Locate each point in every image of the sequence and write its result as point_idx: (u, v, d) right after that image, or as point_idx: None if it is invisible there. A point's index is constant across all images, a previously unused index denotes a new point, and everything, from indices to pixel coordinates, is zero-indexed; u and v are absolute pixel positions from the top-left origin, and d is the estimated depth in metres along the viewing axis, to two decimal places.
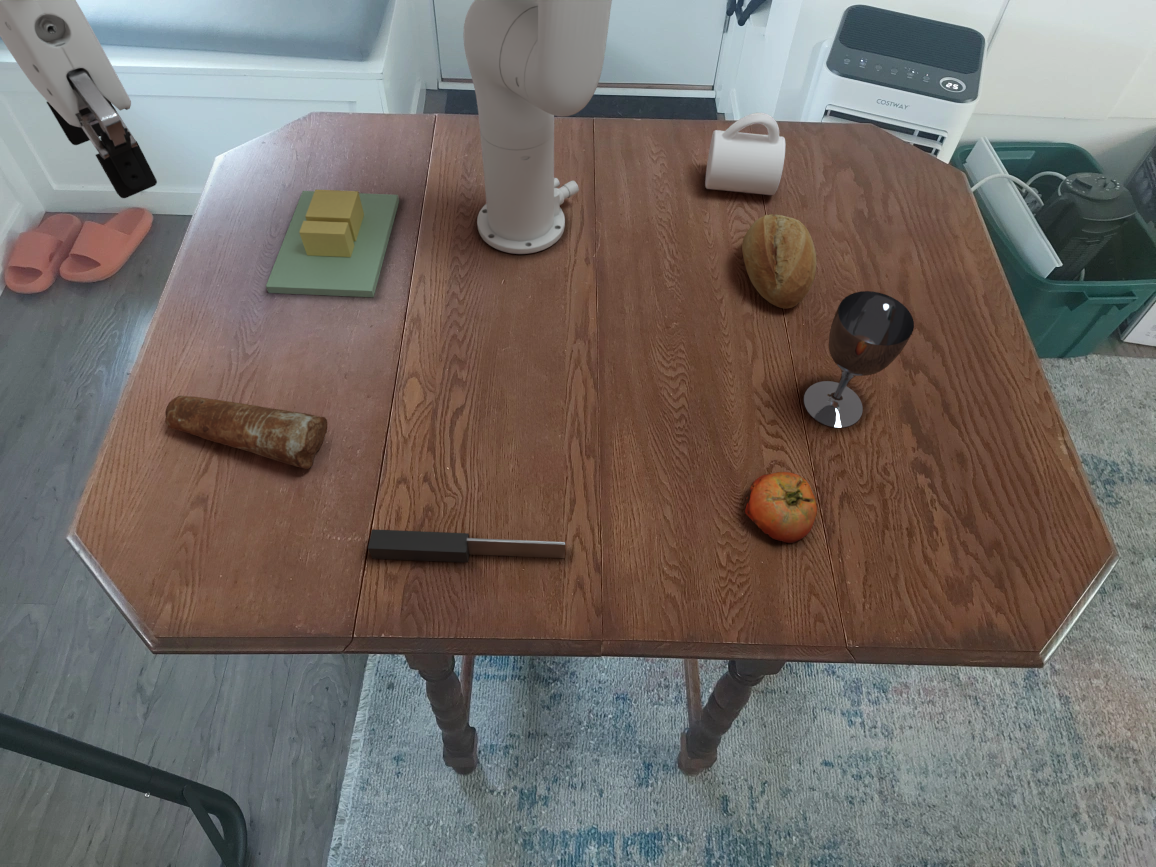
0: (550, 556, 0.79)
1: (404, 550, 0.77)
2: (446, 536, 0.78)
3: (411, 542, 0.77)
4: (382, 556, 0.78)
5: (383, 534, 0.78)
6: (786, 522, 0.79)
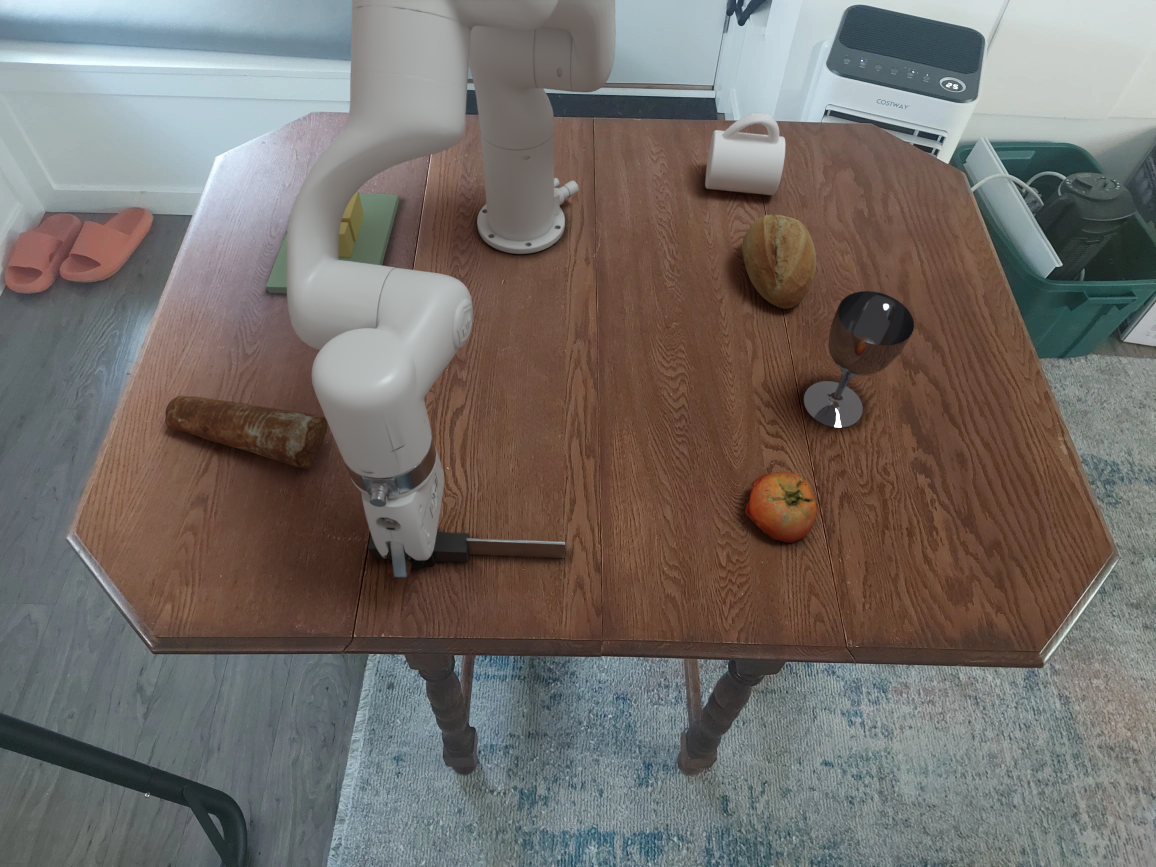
0: (550, 556, 0.79)
1: None
2: (446, 536, 0.78)
3: None
4: (382, 556, 0.78)
5: None
6: (786, 522, 0.79)
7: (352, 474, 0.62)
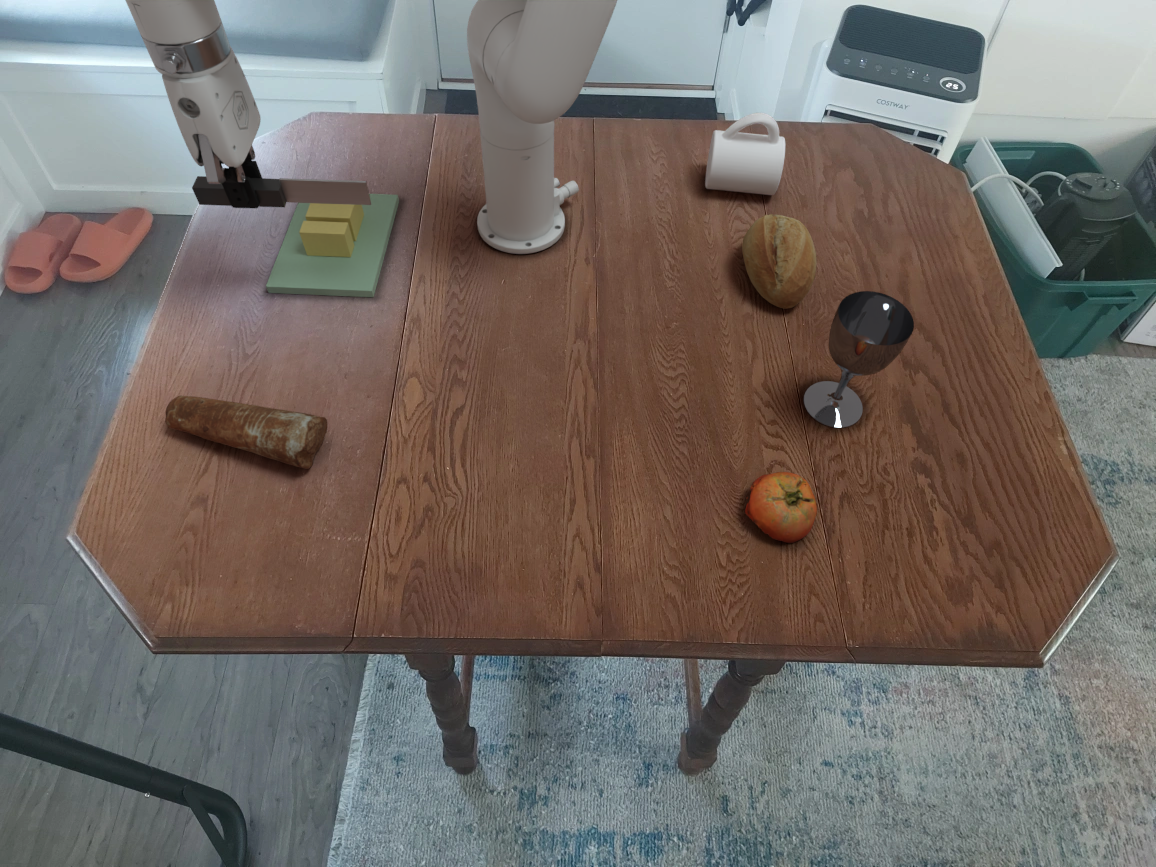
0: (357, 201, 0.90)
1: None
2: (263, 180, 0.88)
3: None
4: (207, 200, 0.89)
5: None
6: (786, 522, 0.79)
7: (149, 49, 0.72)
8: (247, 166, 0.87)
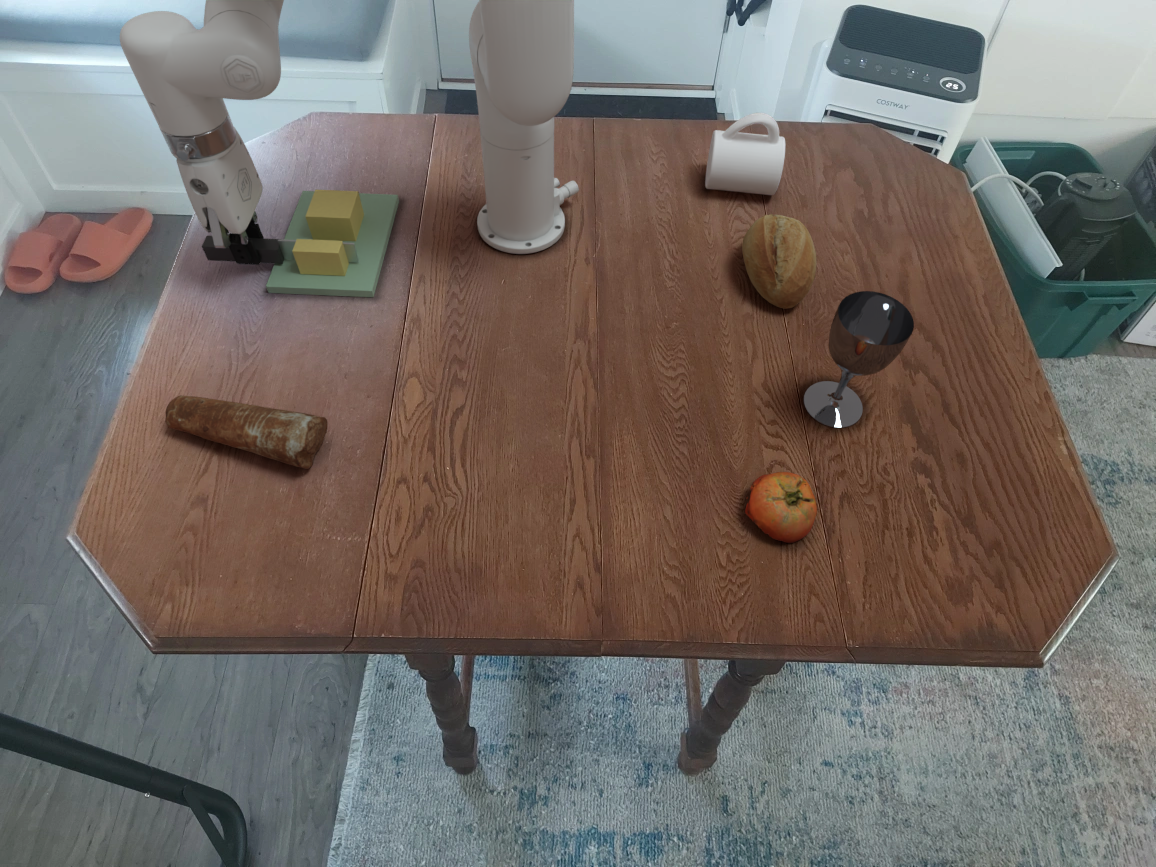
0: None
1: (229, 248, 0.99)
2: (264, 240, 1.00)
3: None
4: (215, 257, 1.01)
5: None
6: (786, 522, 0.79)
7: (166, 139, 0.84)
8: (250, 228, 0.99)
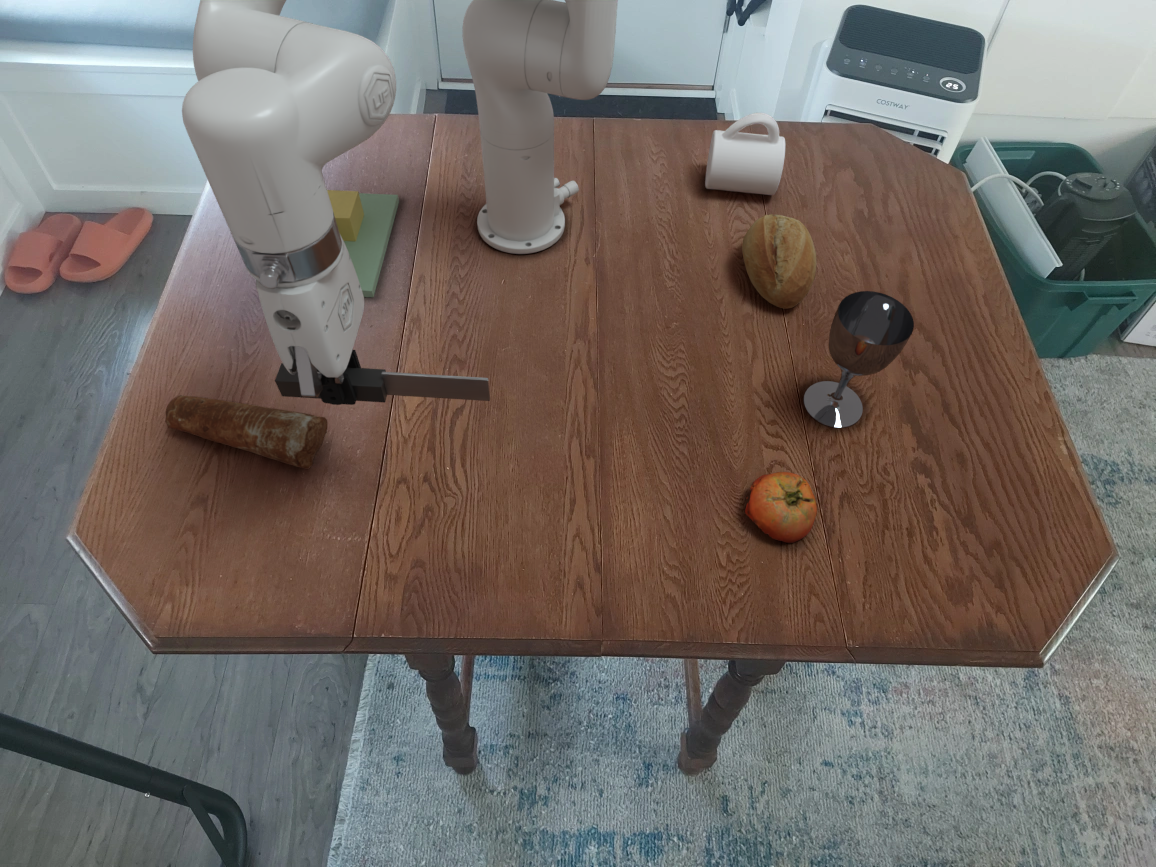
0: (474, 397, 0.73)
1: None
2: (361, 371, 0.72)
3: None
4: (292, 392, 0.72)
5: None
6: (786, 522, 0.79)
7: (243, 254, 0.56)
8: None
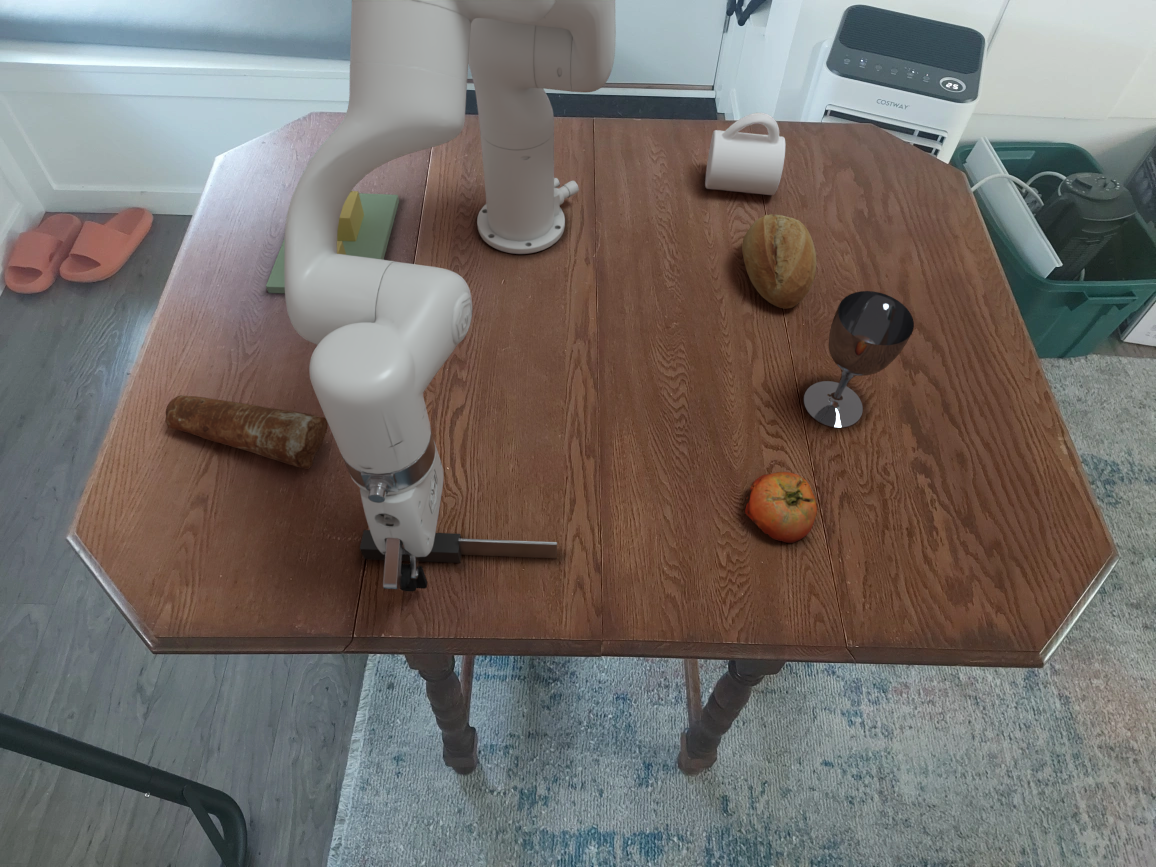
0: (542, 556, 0.79)
1: None
2: (438, 536, 0.78)
3: None
4: (374, 556, 0.78)
5: None
6: (786, 522, 0.79)
7: (350, 470, 0.61)
8: None
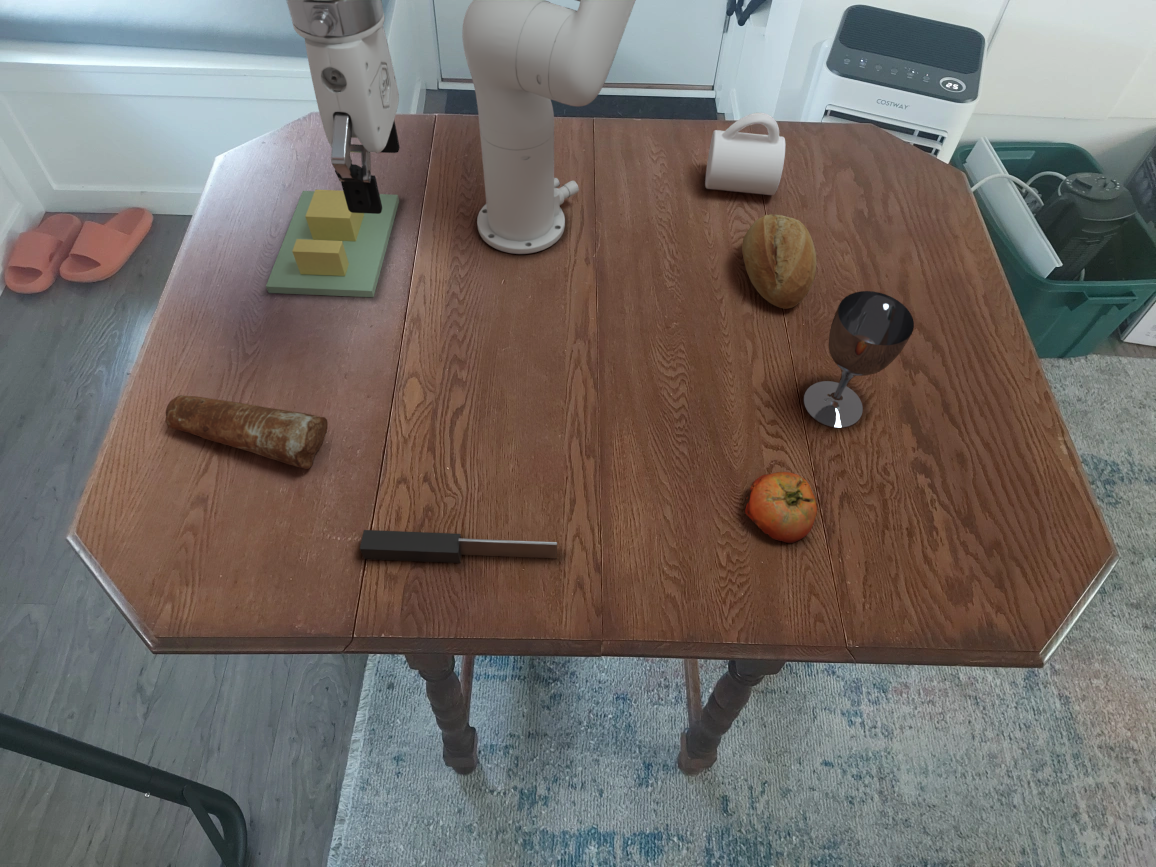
0: (542, 556, 0.79)
1: (395, 550, 0.77)
2: (438, 536, 0.78)
3: (403, 542, 0.77)
4: (374, 556, 0.78)
5: (375, 535, 0.77)
6: (786, 522, 0.79)
7: (294, 7, 0.60)
8: None
